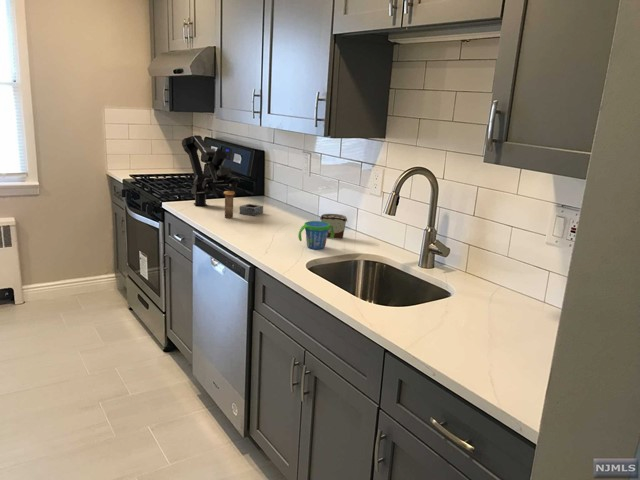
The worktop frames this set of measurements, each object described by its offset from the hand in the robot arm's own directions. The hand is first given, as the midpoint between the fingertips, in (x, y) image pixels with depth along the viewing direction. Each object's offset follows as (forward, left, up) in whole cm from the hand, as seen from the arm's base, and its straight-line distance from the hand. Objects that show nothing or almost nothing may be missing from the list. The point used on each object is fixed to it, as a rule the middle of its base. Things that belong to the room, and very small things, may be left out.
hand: (226, 196), depth 252 cm
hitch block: (-4, +14, -10) cm, 18 cm away
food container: (+46, +38, -10) cm, 61 cm away
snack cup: (+61, +23, -10) cm, 66 cm away
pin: (+3, +1, -10) cm, 10 cm away
